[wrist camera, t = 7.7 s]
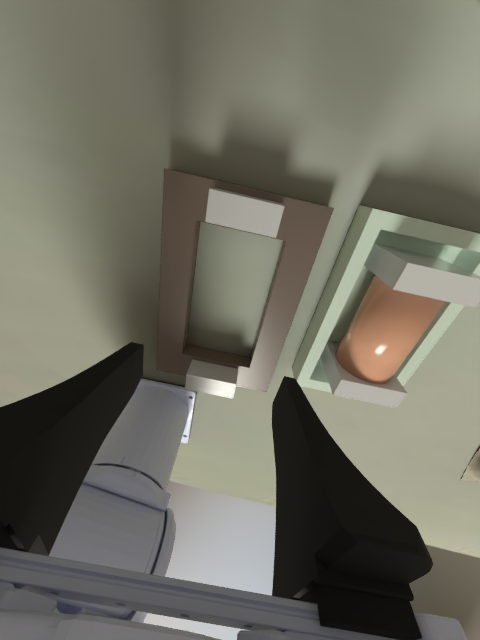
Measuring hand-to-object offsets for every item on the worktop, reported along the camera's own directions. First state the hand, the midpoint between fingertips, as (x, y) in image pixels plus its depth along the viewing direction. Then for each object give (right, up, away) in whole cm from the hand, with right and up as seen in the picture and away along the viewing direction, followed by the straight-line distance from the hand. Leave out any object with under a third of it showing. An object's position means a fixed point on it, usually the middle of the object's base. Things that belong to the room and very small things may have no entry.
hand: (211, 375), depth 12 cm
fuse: (+12, +4, +8) cm, 15 cm away
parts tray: (+12, +3, +8) cm, 15 cm away
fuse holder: (0, +5, +9) cm, 10 cm away
